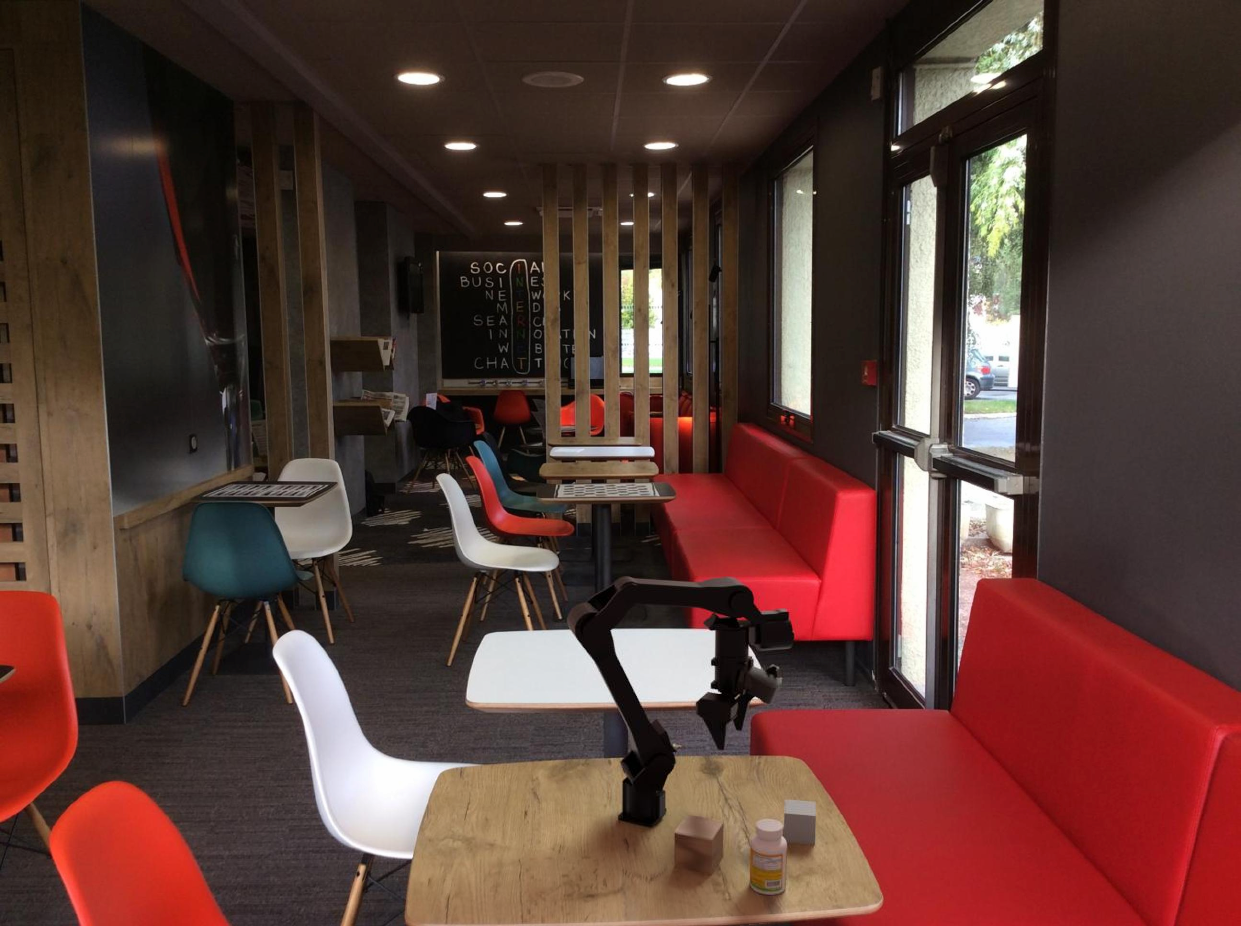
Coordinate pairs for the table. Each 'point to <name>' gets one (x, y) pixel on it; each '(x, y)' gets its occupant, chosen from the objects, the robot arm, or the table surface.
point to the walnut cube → (698, 844)
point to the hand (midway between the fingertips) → (730, 739)
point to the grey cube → (800, 821)
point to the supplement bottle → (768, 858)
